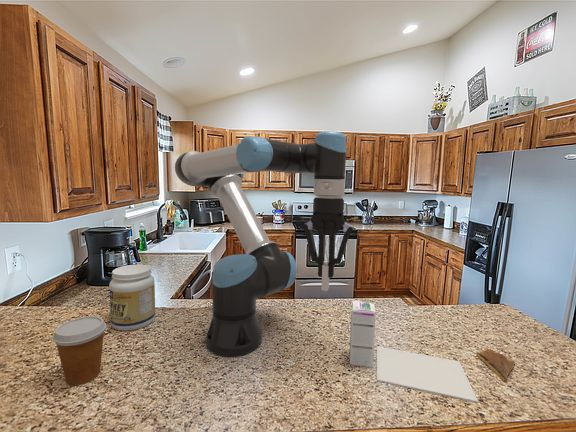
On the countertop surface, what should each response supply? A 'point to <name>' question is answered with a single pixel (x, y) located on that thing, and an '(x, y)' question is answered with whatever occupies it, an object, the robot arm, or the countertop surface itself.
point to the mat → (423, 373)
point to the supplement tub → (132, 297)
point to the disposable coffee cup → (80, 348)
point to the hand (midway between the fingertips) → (325, 289)
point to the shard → (497, 362)
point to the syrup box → (362, 333)
